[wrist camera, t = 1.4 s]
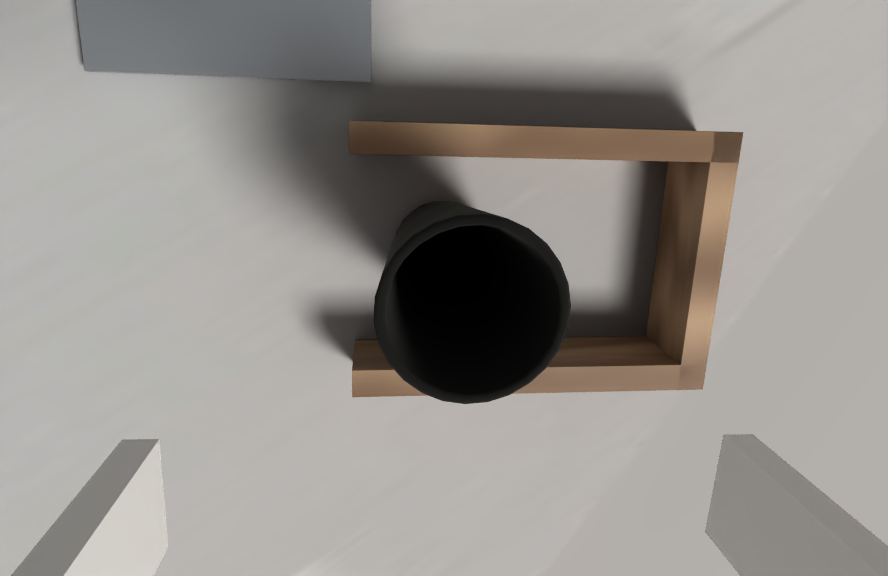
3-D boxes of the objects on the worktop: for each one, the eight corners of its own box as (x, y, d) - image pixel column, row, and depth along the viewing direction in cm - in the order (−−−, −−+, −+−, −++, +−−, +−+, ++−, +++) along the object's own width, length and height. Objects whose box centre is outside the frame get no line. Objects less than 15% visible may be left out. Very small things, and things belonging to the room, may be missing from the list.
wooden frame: (352, 120, 32) (348, 120, 28) (697, 130, 34) (743, 132, 30) (355, 363, 36) (352, 397, 31) (665, 358, 38) (702, 389, 34)
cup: (443, 153, 33) (479, 170, 21) (533, 248, 35) (610, 311, 23) (346, 250, 34) (331, 316, 22) (439, 337, 36) (469, 440, 24)
